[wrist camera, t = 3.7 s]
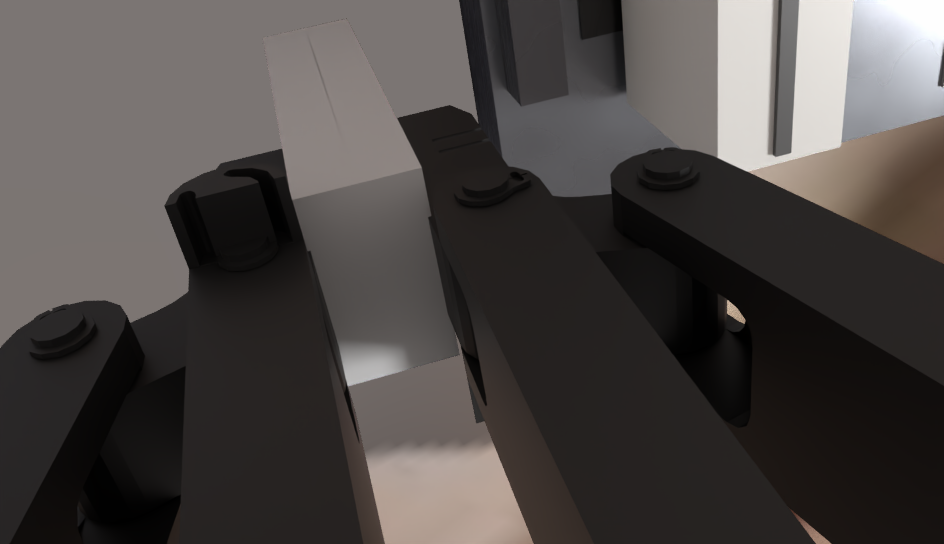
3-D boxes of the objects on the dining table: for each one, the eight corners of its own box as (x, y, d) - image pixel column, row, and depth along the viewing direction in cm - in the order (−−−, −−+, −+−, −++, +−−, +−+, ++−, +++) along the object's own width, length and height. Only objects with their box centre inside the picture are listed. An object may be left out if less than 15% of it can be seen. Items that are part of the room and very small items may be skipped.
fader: (627, 103, 19) (720, 182, 15) (616, -96, 17) (721, -55, 13) (730, 77, 19) (844, 149, 16) (732, -120, 17) (864, -87, 13)
